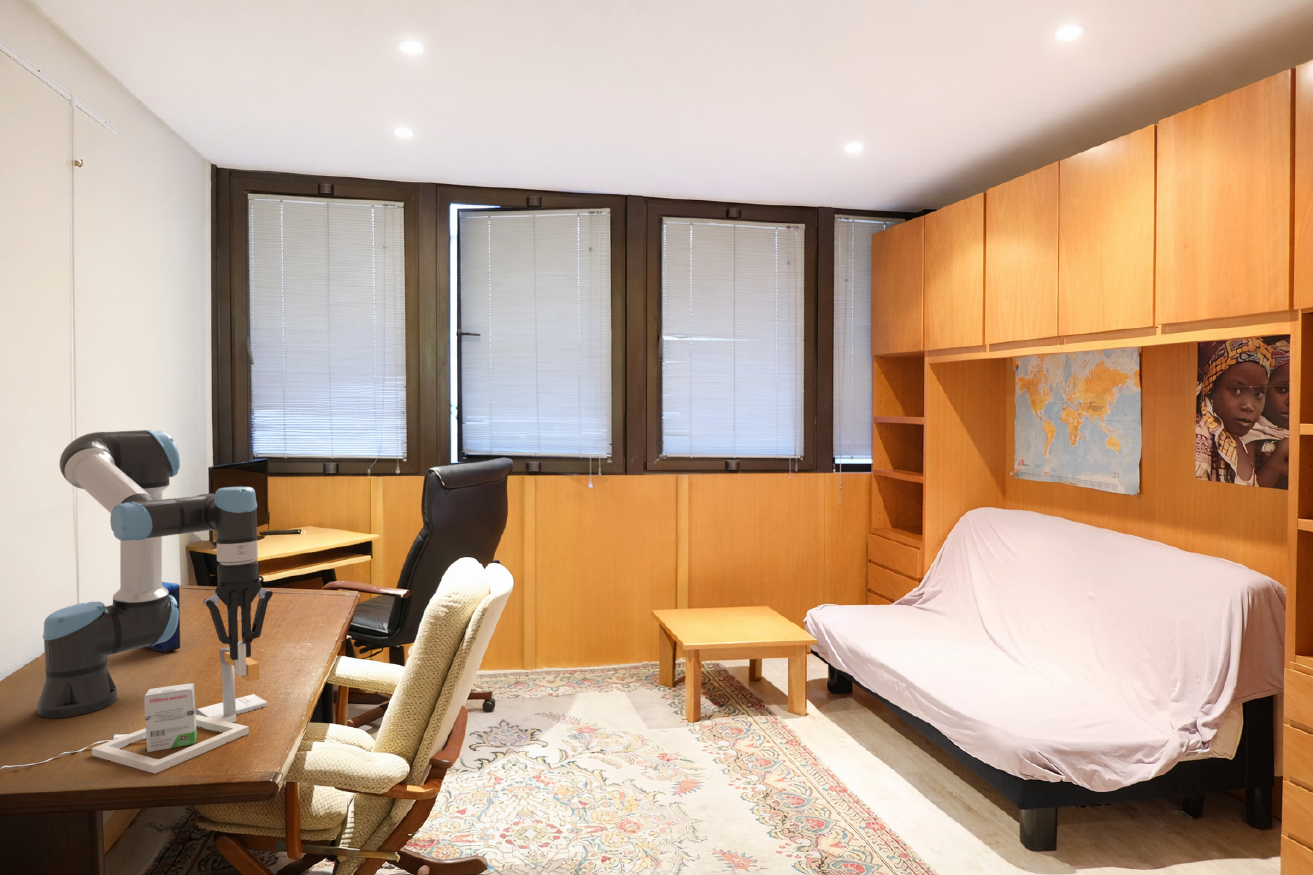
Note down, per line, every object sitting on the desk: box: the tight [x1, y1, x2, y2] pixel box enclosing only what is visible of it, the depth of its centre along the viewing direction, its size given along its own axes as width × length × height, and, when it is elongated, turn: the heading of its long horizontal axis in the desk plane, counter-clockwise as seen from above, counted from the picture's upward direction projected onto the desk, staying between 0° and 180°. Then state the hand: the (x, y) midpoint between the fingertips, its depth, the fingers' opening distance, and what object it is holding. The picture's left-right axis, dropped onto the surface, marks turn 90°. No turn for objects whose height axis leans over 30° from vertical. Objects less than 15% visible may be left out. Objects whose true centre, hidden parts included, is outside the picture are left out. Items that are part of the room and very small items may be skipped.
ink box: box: [143, 682, 198, 753], centre depth 163 cm, size 9×5×12 cm, turn 114°
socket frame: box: [91, 662, 250, 775], centre depth 165 cm, size 20×24×14 cm
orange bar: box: [218, 646, 260, 683], centre depth 170 cm, size 3×16×4 cm, turn 47°
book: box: [142, 581, 181, 653], centre depth 229 cm, size 14×5×20 cm, turn 62°
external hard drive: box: [195, 693, 268, 718], centre depth 182 cm, size 2×8×12 cm
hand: (241, 673), depth 165 cm, fingers closed
